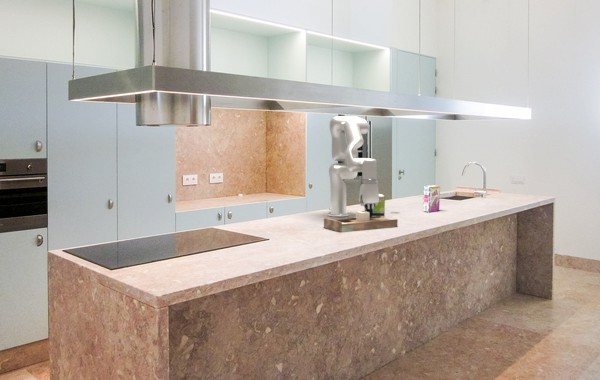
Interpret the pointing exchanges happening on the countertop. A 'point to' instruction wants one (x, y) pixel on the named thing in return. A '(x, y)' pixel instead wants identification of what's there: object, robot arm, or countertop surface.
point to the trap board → (358, 224)
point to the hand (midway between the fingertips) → (369, 216)
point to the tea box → (380, 207)
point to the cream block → (362, 216)
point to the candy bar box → (431, 198)
